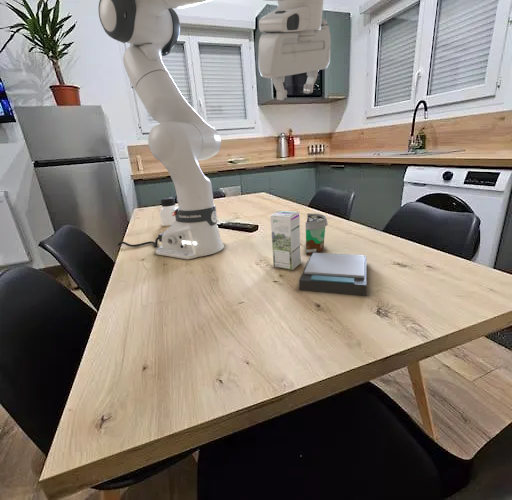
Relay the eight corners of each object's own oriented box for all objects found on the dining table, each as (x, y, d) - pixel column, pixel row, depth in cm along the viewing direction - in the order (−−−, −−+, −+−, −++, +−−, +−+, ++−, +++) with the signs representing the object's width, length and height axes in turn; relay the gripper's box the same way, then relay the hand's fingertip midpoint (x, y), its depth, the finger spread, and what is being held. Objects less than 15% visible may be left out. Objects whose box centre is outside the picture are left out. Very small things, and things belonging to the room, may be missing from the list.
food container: (328, 256, 84) (328, 222, 81) (306, 256, 85) (305, 222, 82) (327, 243, 95) (327, 212, 92) (307, 243, 97) (307, 213, 93)
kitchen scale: (299, 290, 66) (299, 277, 65) (311, 262, 81) (311, 251, 80) (366, 295, 61) (366, 282, 60) (366, 265, 76) (366, 254, 75)
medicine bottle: (177, 225, 134) (172, 198, 131) (161, 226, 135) (157, 200, 131) (181, 221, 141) (177, 196, 137) (166, 222, 141) (162, 197, 138)
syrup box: (301, 263, 81) (300, 210, 76) (292, 271, 76) (290, 216, 71) (282, 260, 84) (280, 209, 79) (272, 267, 79) (269, 214, 74)
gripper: (317, 19, 67) (311, 88, 75) (252, 20, 55) (254, 101, 64) (341, 18, 63) (332, 91, 71) (277, 19, 52) (275, 105, 60)
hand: (295, 96), depth 68 cm, fingers open, 8 cm apart
